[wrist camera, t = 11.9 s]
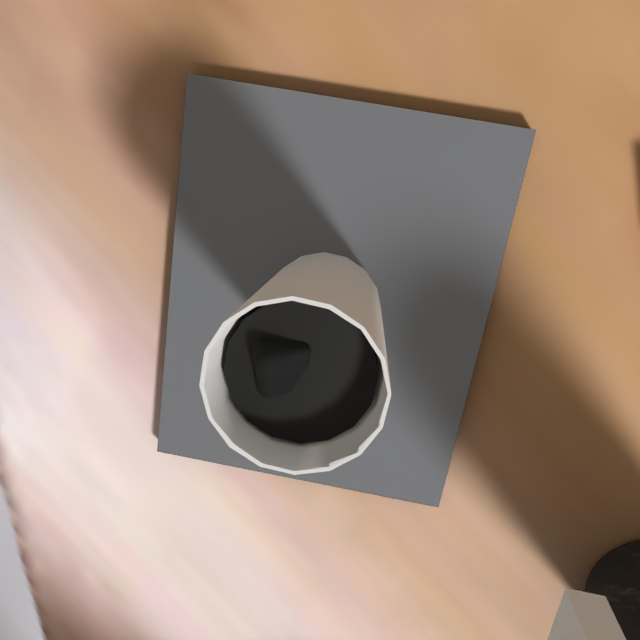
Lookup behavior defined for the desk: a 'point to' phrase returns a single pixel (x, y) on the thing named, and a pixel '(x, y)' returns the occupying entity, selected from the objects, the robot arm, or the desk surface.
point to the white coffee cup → (301, 368)
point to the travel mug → (620, 586)
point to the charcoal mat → (342, 253)
